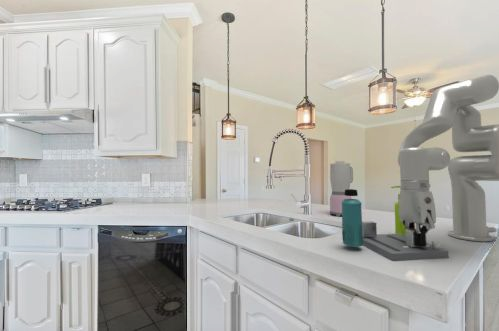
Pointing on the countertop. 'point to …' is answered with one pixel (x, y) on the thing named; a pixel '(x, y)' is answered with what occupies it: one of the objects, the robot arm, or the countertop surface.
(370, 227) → the fader tab
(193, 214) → the countertop surface
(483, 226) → the robot arm
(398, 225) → the soap dispenser
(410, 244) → the fader tab
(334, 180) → the blender
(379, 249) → the console
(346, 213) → the beverage bottle
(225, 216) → the countertop surface
